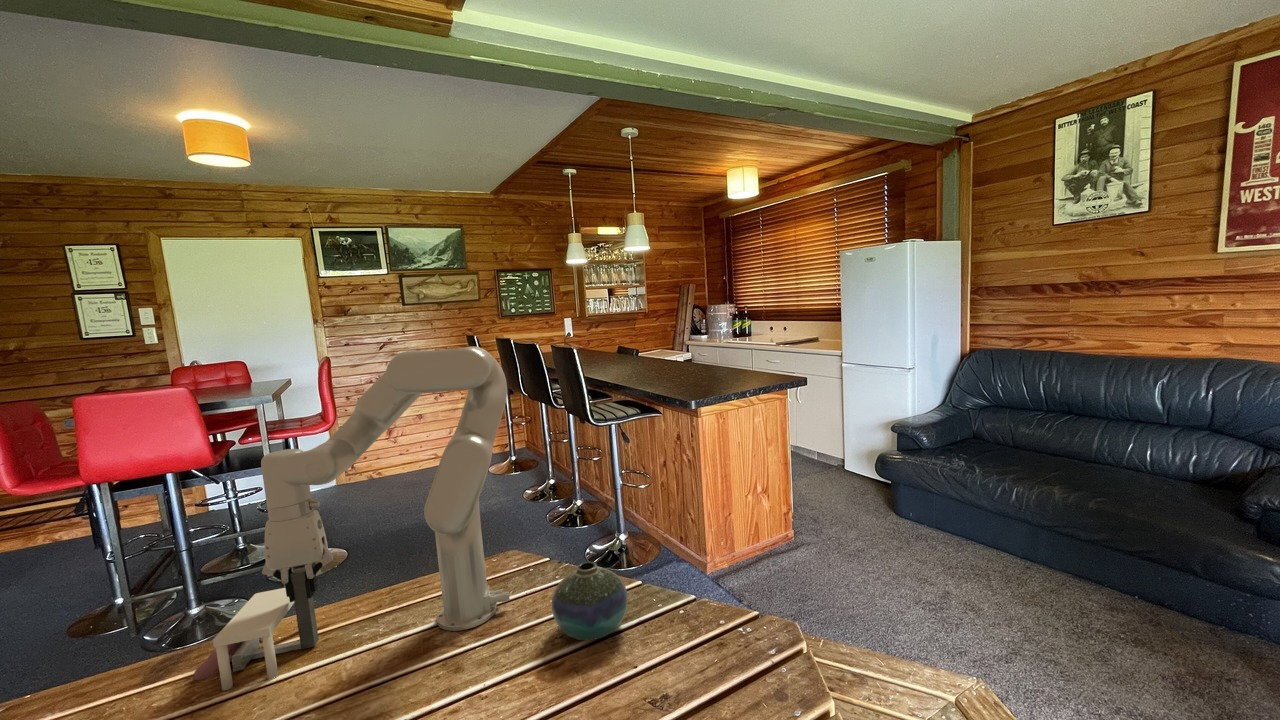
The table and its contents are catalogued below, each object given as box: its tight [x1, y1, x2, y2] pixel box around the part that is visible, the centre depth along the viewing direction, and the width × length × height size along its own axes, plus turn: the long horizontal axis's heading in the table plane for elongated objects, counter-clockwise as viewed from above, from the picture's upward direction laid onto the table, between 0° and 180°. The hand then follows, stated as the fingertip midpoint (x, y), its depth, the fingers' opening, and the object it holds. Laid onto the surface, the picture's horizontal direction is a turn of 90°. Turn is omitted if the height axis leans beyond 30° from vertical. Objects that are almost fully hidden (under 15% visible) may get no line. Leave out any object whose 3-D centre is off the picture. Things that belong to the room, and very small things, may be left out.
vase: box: [551, 561, 629, 641], centre depth 105 cm, size 15×15×13 cm
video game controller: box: [193, 641, 244, 681], centre depth 104 cm, size 10×5×7 cm, turn 10°
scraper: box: [231, 566, 319, 672], centre depth 106 cm, size 13×8×16 cm, turn 106°
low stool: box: [212, 587, 299, 692], centre depth 105 cm, size 9×18×10 cm, turn 16°
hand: (303, 596), depth 107 cm, fingers closed on scraper, 2 cm apart
